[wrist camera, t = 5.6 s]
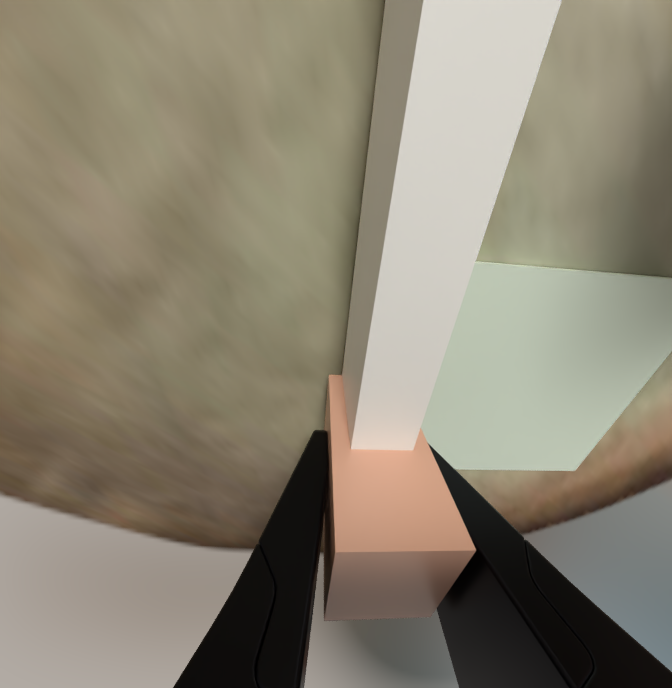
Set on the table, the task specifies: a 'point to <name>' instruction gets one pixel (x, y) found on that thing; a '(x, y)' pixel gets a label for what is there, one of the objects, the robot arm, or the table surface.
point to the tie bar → (417, 290)
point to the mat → (544, 364)
